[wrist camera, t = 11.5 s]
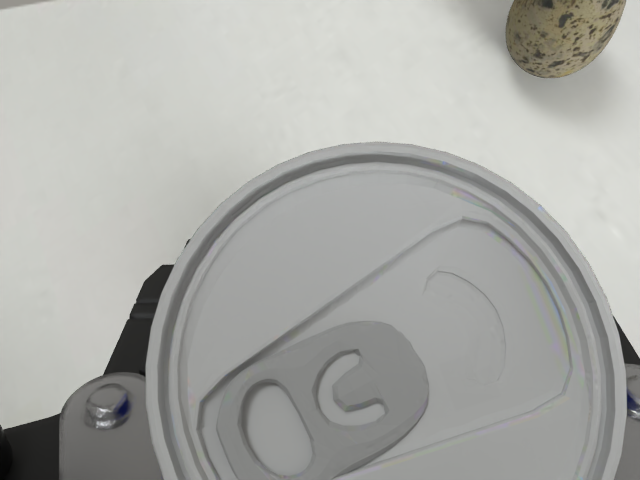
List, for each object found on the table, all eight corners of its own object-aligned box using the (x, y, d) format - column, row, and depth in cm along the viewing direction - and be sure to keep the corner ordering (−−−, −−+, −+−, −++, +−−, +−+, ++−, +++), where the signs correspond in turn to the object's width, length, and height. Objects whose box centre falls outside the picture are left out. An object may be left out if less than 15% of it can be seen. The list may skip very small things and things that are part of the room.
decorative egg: (505, 4, 39) (559, -114, 30) (593, 26, 39) (678, -86, 29) (483, 83, 38) (531, -12, 28) (573, 107, 38) (655, 19, 28)
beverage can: (385, 267, 21) (484, 36, 6) (457, 401, 20) (778, 505, 5) (255, 332, 21) (36, 250, 6) (320, 472, 20) (250, 795, 5)
